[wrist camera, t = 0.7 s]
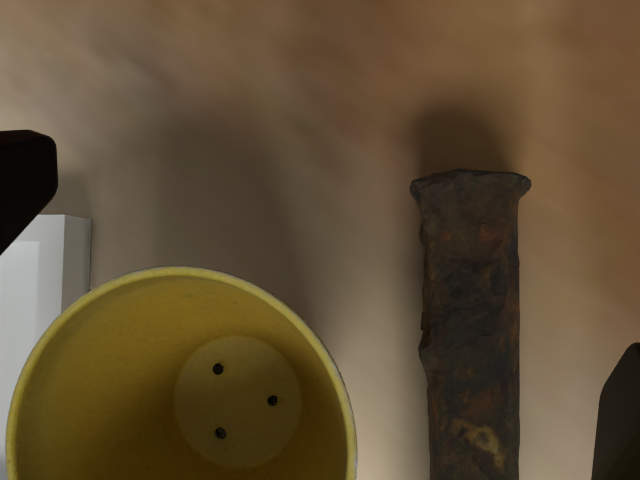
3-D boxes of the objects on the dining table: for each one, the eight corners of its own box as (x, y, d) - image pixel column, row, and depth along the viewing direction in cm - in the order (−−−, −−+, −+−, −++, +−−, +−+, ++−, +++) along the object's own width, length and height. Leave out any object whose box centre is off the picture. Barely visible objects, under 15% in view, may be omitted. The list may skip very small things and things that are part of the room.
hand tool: (411, 180, 24) (411, 158, 19) (519, 183, 23) (545, 160, 19) (391, 689, 23) (385, 793, 18) (503, 705, 22) (526, 818, 18)
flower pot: (419, 347, 23) (424, 378, 16) (295, 583, 23) (245, 718, 16) (192, 225, 25) (106, 204, 18) (77, 447, 25) (-55, 515, 18)
